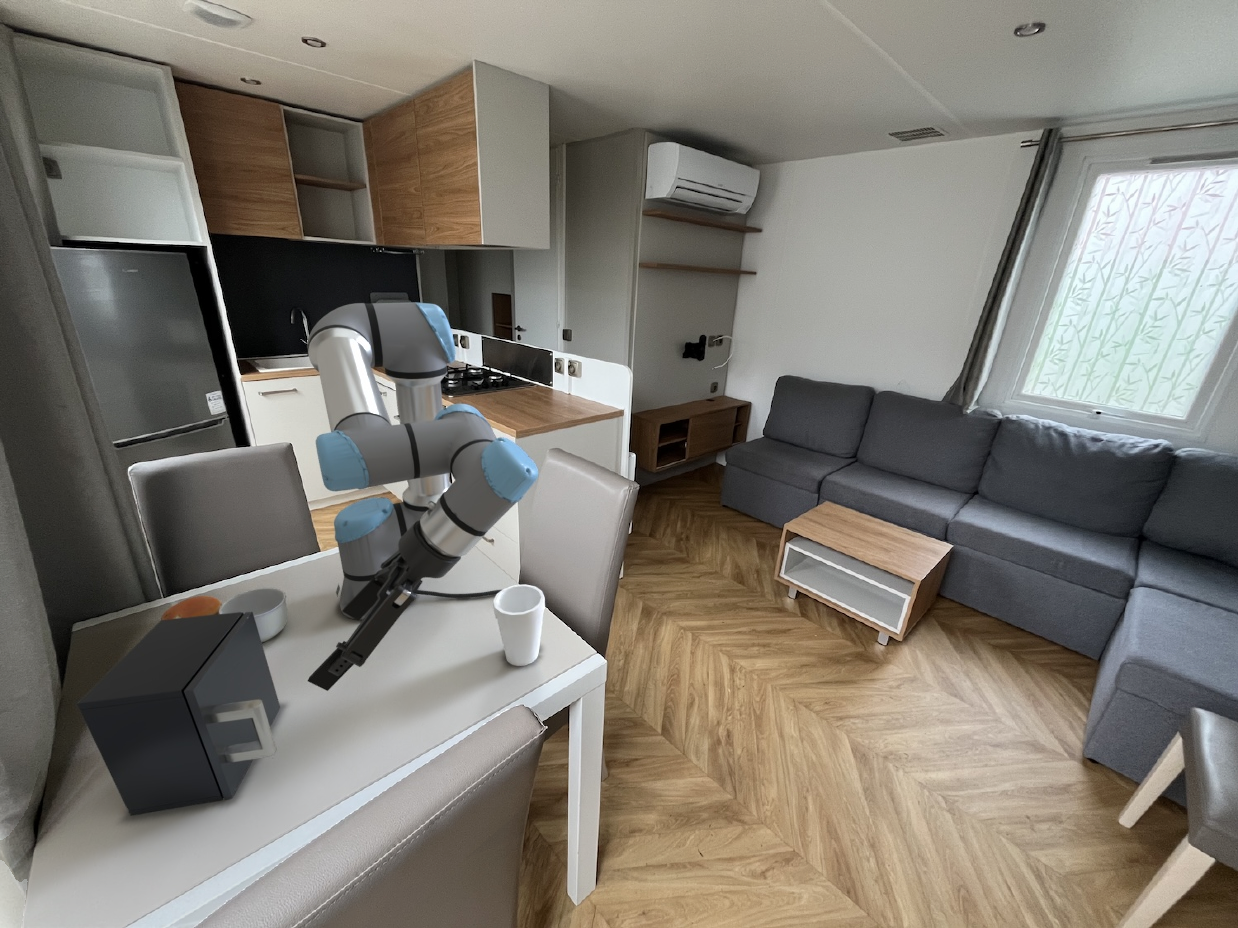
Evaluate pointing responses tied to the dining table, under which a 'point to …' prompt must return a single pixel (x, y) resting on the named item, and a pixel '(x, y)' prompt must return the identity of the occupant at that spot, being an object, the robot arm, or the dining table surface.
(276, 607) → the teacup
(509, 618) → the foam cup
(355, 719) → the dining table surface
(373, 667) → the dining table surface
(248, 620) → the fridge door
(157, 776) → the fridge
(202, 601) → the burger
